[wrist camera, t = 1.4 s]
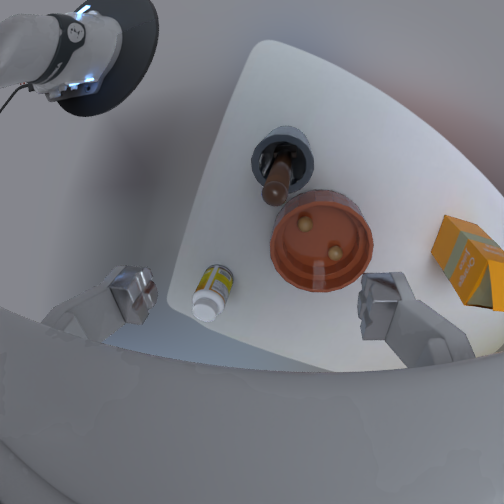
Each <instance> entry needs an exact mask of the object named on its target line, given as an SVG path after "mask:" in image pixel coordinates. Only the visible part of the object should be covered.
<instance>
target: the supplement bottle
mask: <svg viewBox="0 0 504 504" xmlns="http://www.w3.org/2000/svg"><path fill="white" fill-rule="evenodd" d="M232 284H233V276H232V274H231V272H230V271H229V270H228V269H227V268H225V267H223V266H219V265H214V266H211V267H209V268H208V269H207V270H206V271H205V273H204V275H203V277H202V279H201V281H200V283H199V285H198V287H197V289H196V291H195V293H194V295H193V298H192V303H193V305H194V306H193V309H192V312H193V314H194V316H195V317H196V318H197V319H199V320H201V321H204V322H211V321H213V320H214V319H215V317H216V315H219V314H220V313H221V312H222V311H223V310H224V307H225V304H226V301H227V298H228V295H229V292H230V289H231V287H232Z"/></svg>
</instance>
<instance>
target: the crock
mask: <svg viewBox="0 0 504 504" xmlns="http://www.w3.org/2000/svg"><path fill="white" fill-rule="evenodd" d="M281 145H296V146H297V157H296V158H292V164H291V172H290V181H289V189H288V193H292V192H295V191H297V190H300V189H301V188H302V187H303V186H305V185H306V184H307V183H308V182H309V180H310V178H311V176H312V173H313V170H314V158H313V154H312V151H311V148H310V144H309V142H308V139H307V137H306V136H305V134H304V133H303V132H302V131H300V130H299V129H297V128H295V127H292V126H280V127H278V128H276V129H273V130H272V131H271V132H270V133H269V134H268V135H267V136H266V137H265V138H264V139H263V140H262V141H261V142H260V143H259V144H258V145H257V146H256V148H255V150H254V152H253V155H252V158H251V164H252V172H253V174H254V176H255V177H256V179H257V181H258V182H259V183H260V184H261V185H262V186H263V187H264V185H265V182H266V180H267V177H268V175H269V173H270V170H271V168H272V165H273V163H274V161H275V158H274V156H273V153H274V151H275V149H276V147H277V146H281Z"/></svg>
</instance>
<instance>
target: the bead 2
mask: <svg viewBox="0 0 504 504" xmlns="http://www.w3.org/2000/svg"><path fill="white" fill-rule="evenodd" d="M328 255H329V258H330V259H331V260H334V261H337V260H339V259H341V257H342V255H343V251H342V249H341V248H340V247H339V246H332V247H331V248H330V249H329V251H328Z"/></svg>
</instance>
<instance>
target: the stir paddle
mask: <svg viewBox="0 0 504 504" xmlns="http://www.w3.org/2000/svg"><path fill="white" fill-rule="evenodd" d="M273 156H274V158H275V161H274V163H273V165H272V168H271V170H270V173H269V175H268V177H267V180H266V182H265V185H264V187H263V190H262V197H263V199H264V201H265V202H266V203H267V204H268V205H270V206H280V205H282V204H283V203H284V202H285V201H286V199H287V197H288V189H289V181H290V172H291V164H292V158H296V157H297V146H296V145H281V146H277V147H276V149H275V151H274V153H273Z"/></svg>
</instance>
